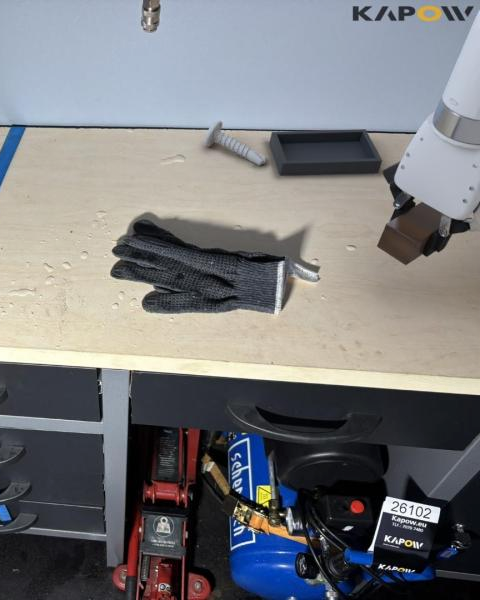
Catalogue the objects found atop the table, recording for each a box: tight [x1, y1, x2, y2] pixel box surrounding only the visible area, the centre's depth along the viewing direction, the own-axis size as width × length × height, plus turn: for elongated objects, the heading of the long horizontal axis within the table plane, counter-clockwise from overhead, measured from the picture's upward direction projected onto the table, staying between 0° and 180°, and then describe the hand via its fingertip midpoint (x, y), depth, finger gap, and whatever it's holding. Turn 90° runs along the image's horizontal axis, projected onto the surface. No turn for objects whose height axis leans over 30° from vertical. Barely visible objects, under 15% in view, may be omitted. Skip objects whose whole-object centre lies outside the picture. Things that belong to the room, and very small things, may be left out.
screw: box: [204, 120, 266, 166], centre depth 108 cm, size 5×12×5 cm
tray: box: [269, 128, 383, 176], centre depth 106 cm, size 17×10×2 cm, turn 89°
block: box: [376, 201, 442, 266], centre depth 78 cm, size 9×4×4 cm, turn 124°
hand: (414, 239), depth 80 cm, fingers closed on block, 4 cm apart
